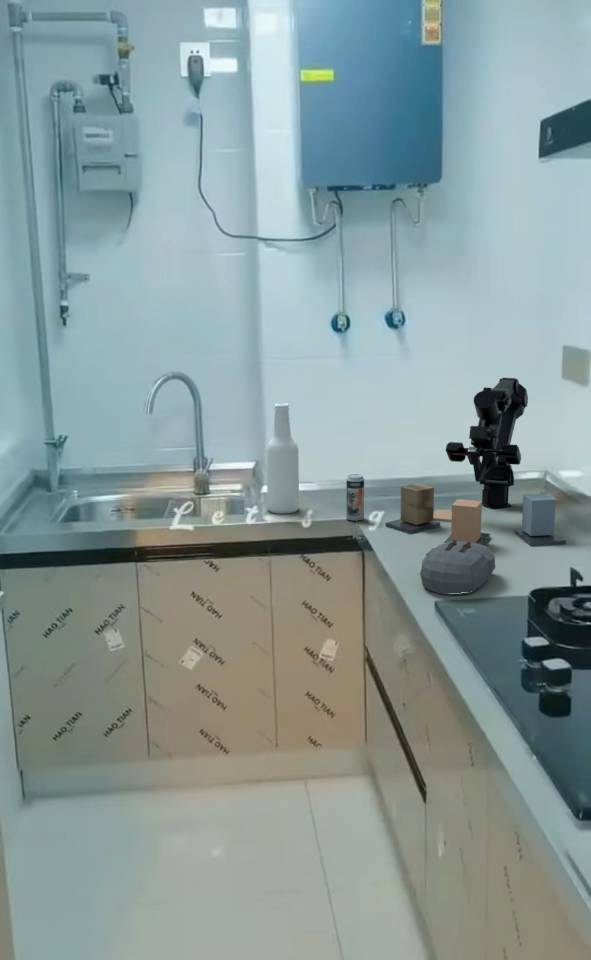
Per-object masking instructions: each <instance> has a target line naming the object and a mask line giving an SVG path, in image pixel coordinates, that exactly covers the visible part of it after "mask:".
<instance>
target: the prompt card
mask: <svg viewBox="0 0 591 960" xmlns="http://www.w3.org/2000/svg"><path fill="white" fill-rule="evenodd" d="M433 520H434V521H437V522H448V523H452V510H451V509H449V510H448V509H436V510H435V511H434V512H433Z"/></svg>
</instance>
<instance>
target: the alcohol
mask: <svg viewBox="0 0 591 960" xmlns="http://www.w3.org/2000/svg"><path fill="white" fill-rule="evenodd" d="M273 406H274V422H273V435H272V437H271V439H270V440H269V442H268V443H267V445H266V451H265V452H266V487H267V488H266V491H267V493H266V494H267V500H266V501H267V509H268V511H269V512H270V513H272V514H278V515H279V514H280V515H286V514H287V515H288V514H294V513H296V512H297V511H298V510H299V508H300V485H299V484H300V482H299V481H300V479H299V478H300V477H299V476H300V475H299V473H300V472H299V462H300V461H299V446H298V443H297V442H296V440H295V439H294V438H293V437H292V433H291V423H290V415H289V413H290V412H289V411H290V408H289V406H290V404H289V403H287V402H277V403H275V404H274V405H273Z"/></svg>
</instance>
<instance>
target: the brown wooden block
mask: <svg viewBox="0 0 591 960" xmlns="http://www.w3.org/2000/svg"><path fill="white" fill-rule="evenodd" d="M434 497H435V487H434V486H429V485H426V484H421V483H417V482H416V483H413V484H408V485H404V486H401V487H400V519H401V520H402V521H405V522H409V523H412V524H415V525H419V524H423V523H427V522H431V521H433V514H434V513H435V510H434V509H435V508H434V504H435V501H434V499H435V498H434Z"/></svg>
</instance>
